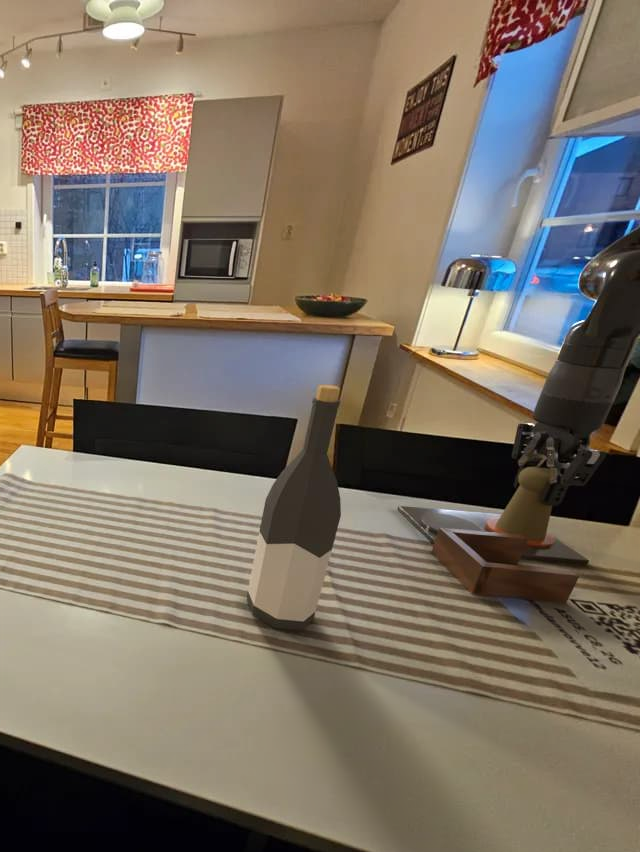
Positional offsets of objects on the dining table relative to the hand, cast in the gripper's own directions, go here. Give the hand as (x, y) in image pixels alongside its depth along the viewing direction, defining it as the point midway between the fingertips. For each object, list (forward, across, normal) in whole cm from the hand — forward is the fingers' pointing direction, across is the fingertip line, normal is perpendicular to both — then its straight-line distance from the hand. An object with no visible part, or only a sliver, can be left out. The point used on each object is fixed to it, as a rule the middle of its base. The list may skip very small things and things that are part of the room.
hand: (534, 495), depth 79 cm
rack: (+8, -13, +11) cm, 19 cm away
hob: (+8, 0, +5) cm, 9 cm away
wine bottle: (+8, -27, +44) cm, 52 cm away
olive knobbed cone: (+7, 0, 0) cm, 7 cm away
